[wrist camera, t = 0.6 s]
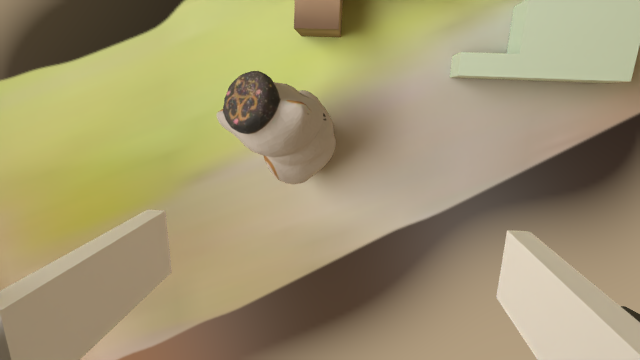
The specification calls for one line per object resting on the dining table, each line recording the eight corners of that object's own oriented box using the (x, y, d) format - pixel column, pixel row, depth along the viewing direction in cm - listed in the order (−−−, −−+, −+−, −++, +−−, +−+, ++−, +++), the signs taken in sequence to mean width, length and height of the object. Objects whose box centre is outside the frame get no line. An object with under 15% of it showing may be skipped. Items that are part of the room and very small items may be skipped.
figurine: (345, 87, 36) (335, 79, 21) (332, 181, 38) (316, 231, 23) (263, 77, 36) (198, 62, 22) (255, 169, 39) (193, 212, 24)
